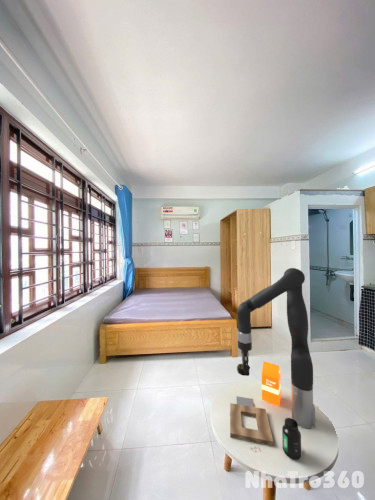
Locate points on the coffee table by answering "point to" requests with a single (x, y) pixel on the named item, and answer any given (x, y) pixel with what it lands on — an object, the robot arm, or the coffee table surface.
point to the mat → (245, 401)
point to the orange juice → (271, 383)
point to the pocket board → (248, 434)
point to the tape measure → (240, 370)
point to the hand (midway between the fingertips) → (244, 369)
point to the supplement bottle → (291, 439)
